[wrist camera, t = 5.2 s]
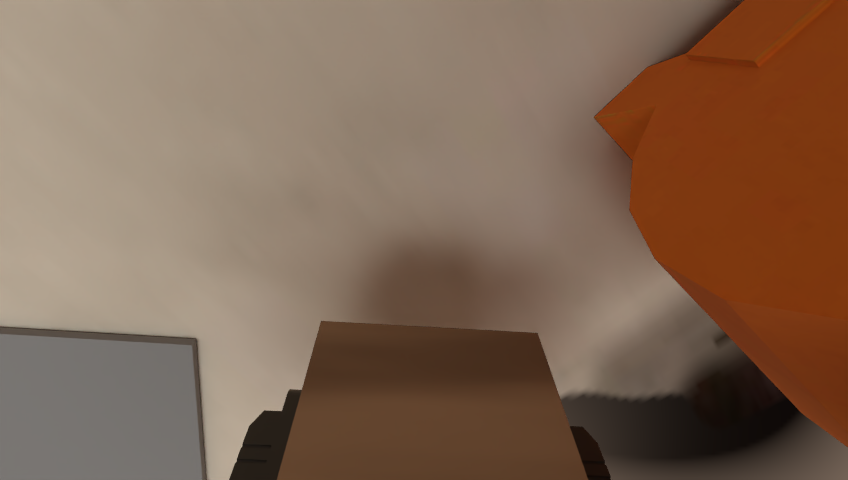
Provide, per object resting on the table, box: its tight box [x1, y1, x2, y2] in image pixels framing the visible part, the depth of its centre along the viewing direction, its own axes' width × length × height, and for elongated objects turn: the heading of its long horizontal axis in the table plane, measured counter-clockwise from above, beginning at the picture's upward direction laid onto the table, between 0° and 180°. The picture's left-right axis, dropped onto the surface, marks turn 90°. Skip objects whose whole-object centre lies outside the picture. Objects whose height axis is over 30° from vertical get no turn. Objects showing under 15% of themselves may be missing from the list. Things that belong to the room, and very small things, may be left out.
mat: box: [0, 327, 206, 480], centre depth 22 cm, size 10×10×1 cm
